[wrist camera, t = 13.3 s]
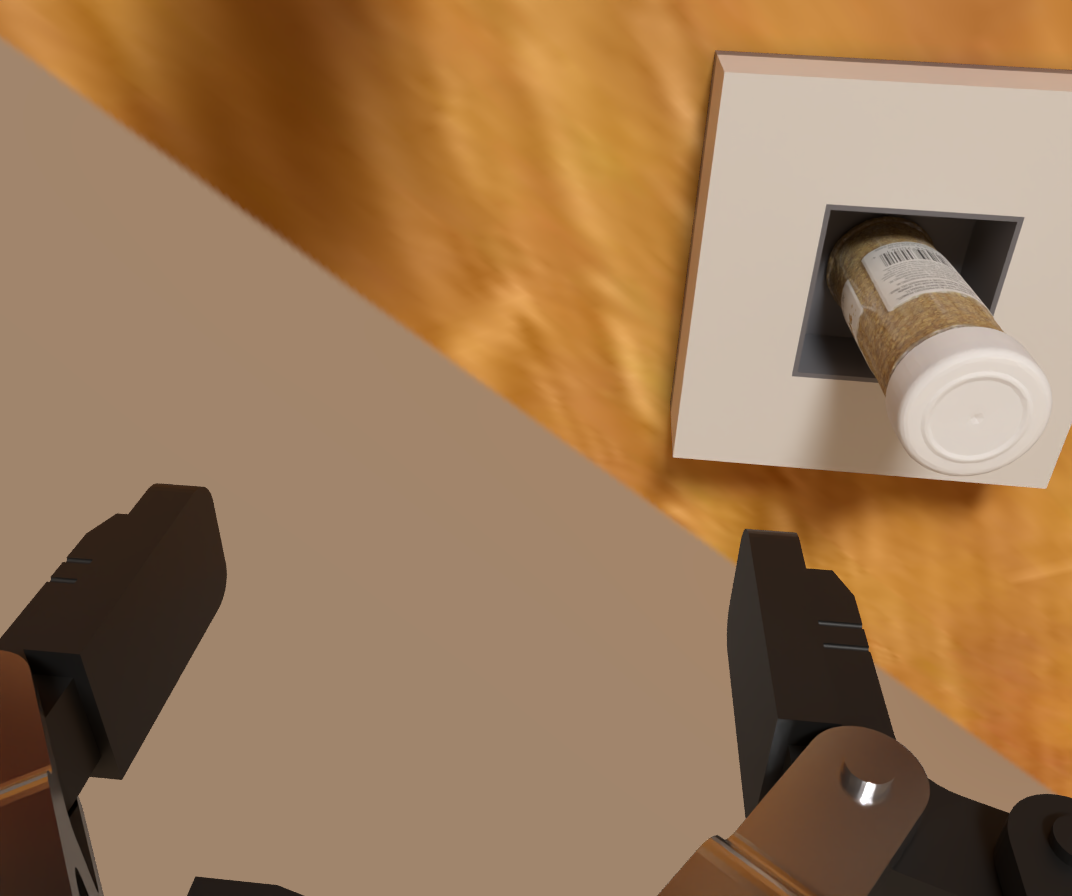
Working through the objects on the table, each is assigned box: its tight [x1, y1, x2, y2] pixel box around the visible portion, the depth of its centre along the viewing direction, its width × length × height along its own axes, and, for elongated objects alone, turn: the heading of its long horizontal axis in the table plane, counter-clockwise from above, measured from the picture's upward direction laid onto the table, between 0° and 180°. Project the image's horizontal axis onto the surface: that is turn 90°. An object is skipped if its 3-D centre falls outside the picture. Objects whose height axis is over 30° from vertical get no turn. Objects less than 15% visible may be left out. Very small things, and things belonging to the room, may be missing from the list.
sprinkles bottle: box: [826, 216, 1053, 476], centre depth 34 cm, size 5×5×13 cm
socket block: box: [670, 51, 1072, 489], centre depth 38 cm, size 16×16×5 cm
